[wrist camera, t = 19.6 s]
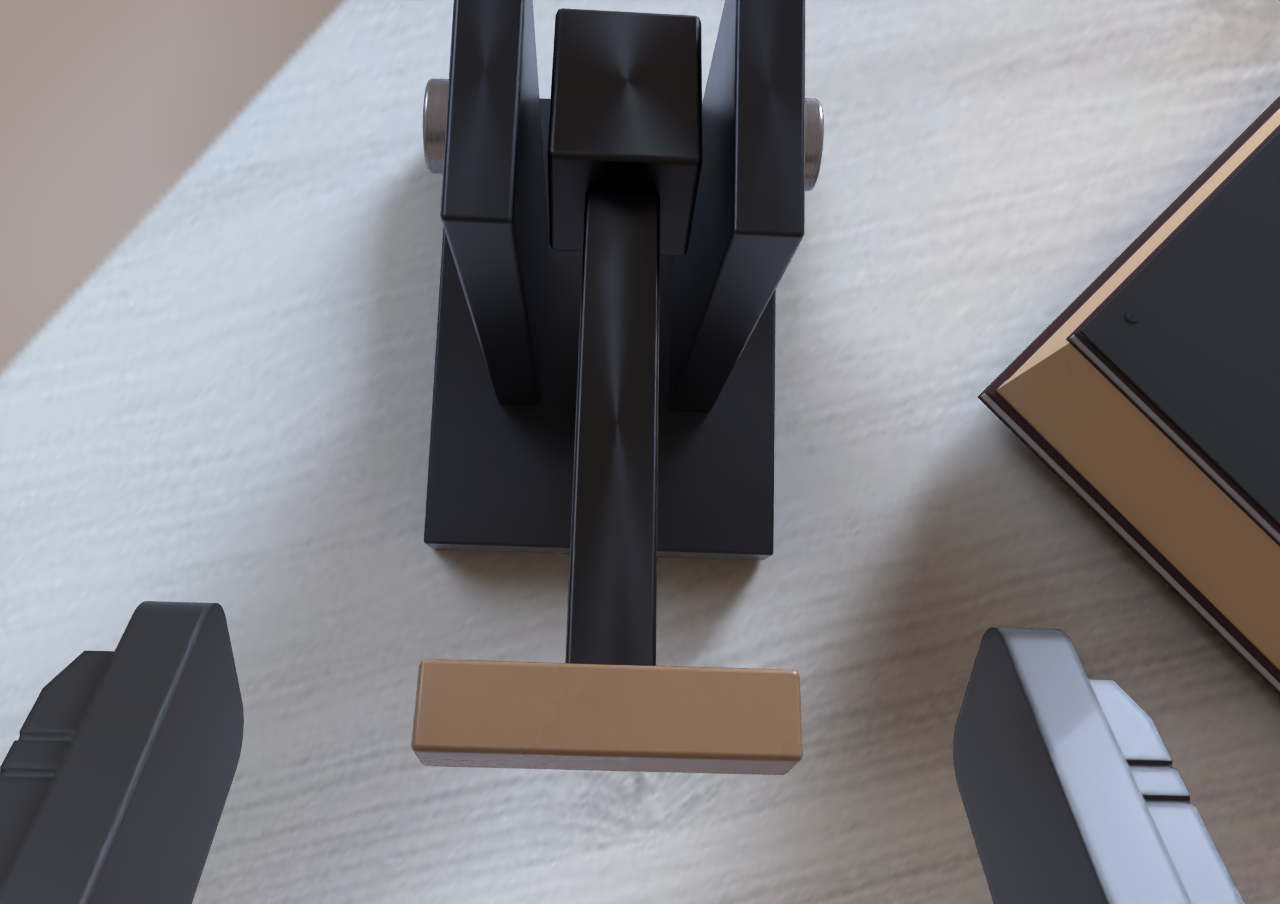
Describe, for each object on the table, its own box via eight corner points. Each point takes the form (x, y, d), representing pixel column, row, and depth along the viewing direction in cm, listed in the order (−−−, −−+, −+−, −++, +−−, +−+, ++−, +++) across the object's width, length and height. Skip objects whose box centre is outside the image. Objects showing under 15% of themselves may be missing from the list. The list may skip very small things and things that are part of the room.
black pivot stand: (764, 559, 28) (915, 476, 16) (430, 548, 28) (307, 455, 15) (768, 132, 30) (906, -247, 18) (456, 117, 30) (367, -283, 17)
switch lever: (779, 784, 15) (815, 749, 13) (425, 776, 15) (403, 739, 13) (756, 124, 20) (780, 17, 18) (485, 110, 20) (475, 0, 17)
